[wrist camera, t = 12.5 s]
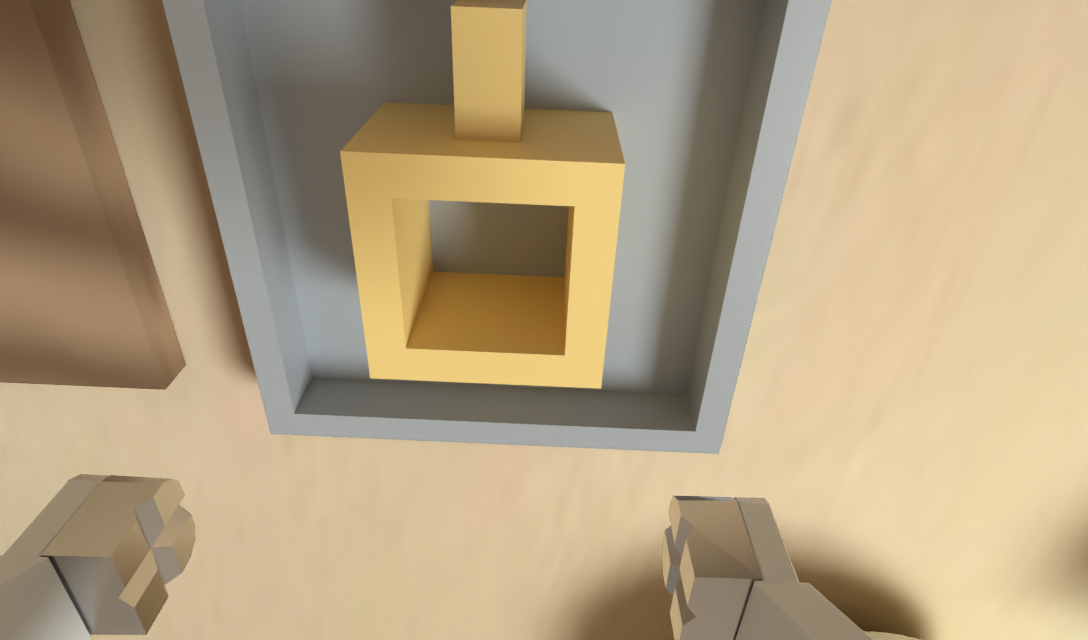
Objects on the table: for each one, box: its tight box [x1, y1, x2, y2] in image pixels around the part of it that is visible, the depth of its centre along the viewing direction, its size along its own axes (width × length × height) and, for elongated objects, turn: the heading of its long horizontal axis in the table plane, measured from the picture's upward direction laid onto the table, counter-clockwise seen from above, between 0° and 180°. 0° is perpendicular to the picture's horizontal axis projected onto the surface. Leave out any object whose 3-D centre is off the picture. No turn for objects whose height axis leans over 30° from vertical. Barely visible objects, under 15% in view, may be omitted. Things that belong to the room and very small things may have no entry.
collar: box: [340, 0, 625, 389], centre depth 18 cm, size 10×7×4 cm
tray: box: [162, 0, 831, 454], centre depth 20 cm, size 16×16×2 cm
